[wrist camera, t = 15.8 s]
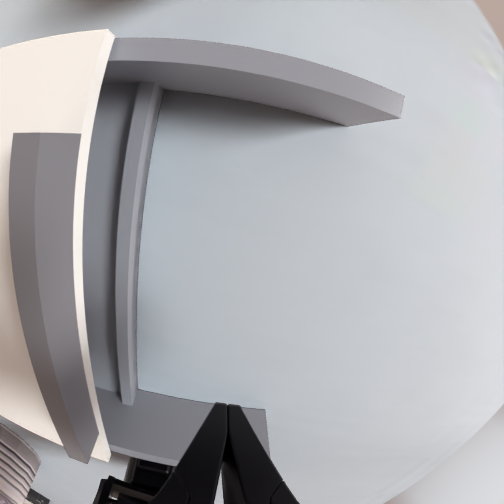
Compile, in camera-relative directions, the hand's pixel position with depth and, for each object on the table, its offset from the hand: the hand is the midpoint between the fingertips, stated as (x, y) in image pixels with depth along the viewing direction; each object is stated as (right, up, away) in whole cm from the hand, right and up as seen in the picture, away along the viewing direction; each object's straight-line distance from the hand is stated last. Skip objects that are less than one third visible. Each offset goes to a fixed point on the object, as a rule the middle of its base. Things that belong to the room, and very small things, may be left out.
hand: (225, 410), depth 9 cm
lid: (-14, +4, +2) cm, 14 cm away
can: (-37, -25, +18) cm, 48 cm away
